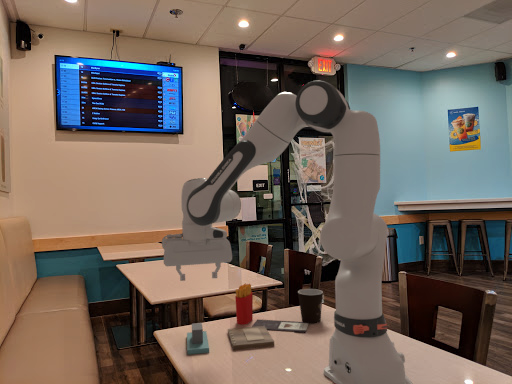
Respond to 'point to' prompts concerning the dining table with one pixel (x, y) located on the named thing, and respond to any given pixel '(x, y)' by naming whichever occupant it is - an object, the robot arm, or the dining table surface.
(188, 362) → the dining table surface
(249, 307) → the french fries
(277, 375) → the dining table surface
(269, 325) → the chocolate bar
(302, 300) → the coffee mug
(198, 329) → the teal base gray block
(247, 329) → the board
